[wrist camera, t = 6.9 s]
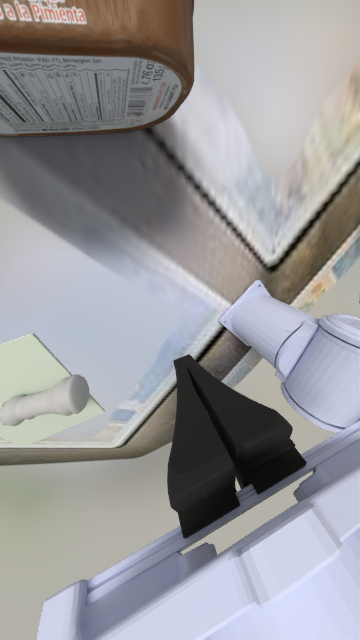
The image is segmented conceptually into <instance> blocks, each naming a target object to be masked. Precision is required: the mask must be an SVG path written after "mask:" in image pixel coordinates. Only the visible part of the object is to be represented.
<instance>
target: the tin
mask: <svg viewBox="0 0 360 640" xmlns="http://www.w3.org/2000/svg"><path fill="white" fill-rule="evenodd" d="M193 11H194V0H0V136H2V137H15V136H49V135H77V134H98V133H116V132H127V131H134V130H140V129H144V128H148V127H151V126H154V125H156V124H159V123H161V122H163V121H165V120H167V119H168V118H170V117H171V116H172V115H173V114H174V113H175V112H176V111H177V109H178V108H179V106H180V105H181V104H182V103H183V102H184V101H185V99H186V98H187V96H188V95H189V93H190V91H191V89H192V86H193V83H194V45H193V44H194V43H193Z"/></svg>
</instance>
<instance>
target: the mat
mask: <svg viewBox="0 0 360 640" xmlns="http://www.w3.org/2000/svg"><path fill="white" fill-rule="evenodd" d="M71 376H72V374H71V373H70V372H69V371H68V370H67V369H66V368H65V367H64V366H63V365H62V364H61V362H60V361H59V360H58V359H57V358H56V357H55V356H54V355H53V354H52V353H51V352H50V350H49V349H47V347H46V346H45V345H44V344H43V343H42V342H41V341H40V340H39V338H38V337H37V336H36V335H35V334H34V333H32V334H29V335H26V336H23V337H20V338H17V339H14V340H11V341H8V342H5V343H2V344H0V408H3V406H2V405H1V404H3V403H4V402H6V401H8V400H9V399H10V398H12V397H13V396H15V395H23V396H27V395H28V394H30V393H35V394H37V393H40V392H43V391H45V390H48V389H50V388H52V387H53V386H54V385H55V384H58V382H60V381H61V380H62V379H64V378H66V377H71ZM103 412H104V409H103V408H102V407H101V406H100V405H99V404H98V403H97V402H96V400H95V399H94V398H93V397H92V396H91V395H90V394H89V399H88V403H87V405H86V407H85V408H84V409H83V410H82V411H81V412H80V413H78V414H74V413H73V414H71V415H70V416H63V415H60V414H59V415H58V414H54V413H50V414H43V415H38V416H36V417H35V418H33V419H31V420H26V419H25V420H24V421H23V422H22V423H21V424H19V425H17V426H9V425H2V423H3V422H0V437H2V438H4V439H6V440H8V441H10V442H12V443H14V444H16V445H18V446H20V447H22V448H23V447H25V446H27V445H29V444H32V443H34V442H36V441H39V440H41V439H43V438H46V437H48V436H50V435H52V434H55V433H57V432H59V431H62V430H64V429H66V428H69V427H71V426H73V425H75V424H78V423H80V422H82V421H85V420H87V419H89V418H91V417H94V416H96V415H99V414H101V413H103ZM0 417H1V413H0Z"/></svg>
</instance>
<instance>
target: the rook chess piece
mask: <svg viewBox="0 0 360 640" xmlns="http://www.w3.org/2000/svg"><path fill="white" fill-rule="evenodd" d="M88 399H89V387H88V384H87V381H86V380H85V378H84V377H81V376H80V375H77V374H76V375H72V376H71V377H66V378H64V379H62V380H61V381H60V382H58V384H55V385H54V386H53V387H52V388H50V389H48V390H45V391H43V392H40V393H37V394H35V393H30V394H28V395H27V396H23V395H15V396H13V397H12V398H10V399H9V400H8V401H6V402H4V403H3V404H1V405H2V406H3V408H0V413H1V417H0V422H3V423H2V425H9V426H17V425H19V424H21V423H22V422H23V421H24V420H25V419H26V420H31V419H33V418H35V417H36V416H38V415H43V414H50V413H54V414H58V415H59V414H60V415H63V416H70V415H71V414H73V413H74V414H78V413H80V412H81V411H82V410H83V409H84V408H85V407H86V405H87V403H88Z"/></svg>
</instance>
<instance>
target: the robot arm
mask: <svg viewBox="0 0 360 640" xmlns="http://www.w3.org/2000/svg"><path fill="white" fill-rule="evenodd" d="M224 321H225V322H224ZM219 322H220V323H221V324H222V325H223V326H225V327H226V328H227V329H228V330H229V331H230V332H232V333H233V334H234V335H235V336H236V337H238V338H239V339H240V340H241V341H242V342H243V343H245V344H246V345H247V346H251V347H252V348H253V349H255V350H256V351H257V352H258V353H259V354H260V355H261V356H262V357H264V358H265V359H266V360H267V361H268V362H269V363H270V364H272V365H273V366H274V367H275V368H276V373H275V375H276V376H277V377H278V378H279V379H280V380H281V381H282V383H281V390H282V393H283V395H284V397H285V398H286V400H287V401H288V403H289V404H290V405H291V406H292V407H293V408H294V410H295V411H297V412H298V413H299V414H300V415H301V416H302V417H304V418H305V419H306V420H308V421H310V422H311V423H313V424H315V425H317V426H319V427H321V428H323V429H326V430H328V431H331V432H334V433H337V434H335V435H333V436H332V437H330V438H328V439H327V440H325V441H323V442H321V443H320V444H318V445H316V446H315V447H313V448H311V449H310V450H308V451H306V452H304V453H303V454H300V453H299V452H298V451H297V449H296V448H295V444H294V443H293V441H292V440H291V439H290V436H291V434H292V426H291V425H290V424H289V423H288V421H287V420H286V419H284V417H282V416H281V415H280V414H279V413H278V412H277V411H276V410H274V409H271V408H268V407H266V406H264V405H262V404H260V403H258V402H255V401H253V400H251V399H249V398H247V397H246V396H244V395H242V394H240V393H238V392H236V391H235V390H233V389H231V388H230V387H228V386H227V385H225V384H224V383H222V382H221V381H219V380H218V379H216V378H215V377H214V376H212V375H211V374H210V373H209V372H207V371H206V370H205V369H204V368H203V367H202V366H201V365H199V364H198V363H197V362H196V361H195V360H194V359H193V357H192V356H191V355H189V354H188V355H186V356H184V357H181V358H179V359H176V360H174V365H175V370H176V377H177V411H176V421H175V429H174V436H173V442H172V448H171V453H170V457H169V462H168V478H167V481H168V482H167V484H168V495H169V500H170V505H171V508H173V509H174V510H175V511H176V512H178V516H179V520H180V525H181V526H179V527H177V528H176V529H174V530H172V531H170V532H169V533H167V534H165V535H164V536H162V537H160V538H159V539H157V540H155V541H154V542H152V543H150V544H148V545H147V546H145V547H143V548H142V549H140V550H138V551H137V552H135V553H133V554H132V555H130V556H128V557H126V558H125V559H123V560H121V561H120V562H118V563H116V564H114V565H113V566H111V567H109V568H108V569H106V570H105V571H103V572H101V573H99V574H98V575H96V576H94V577H92V578H91V579H89V580H80V581H78V582H75V583H73V584H71V585H69V586H68V587H66V588H64V589H63V590H61V591H59V592H57V593H56V594H54V595H52V596H50V597H49V598H47V599H46V600H45V602H44V605H43V609H42V614H41V619H40V624H39V629H38V634H37V639H36V640H360V317H356V316H352V315H347V314H340V313H334V314H330V315H325V316H322V317H321V319H319V318H316V317H314V316H312V315H309V314H307V313H305V312H303V311H301V310H299V309H296V308H294V307H292V306H290V305H287V304H285V303H283V302H281V301H279V300H276V299H274V298H272V297H271V296H270V294H269V293H268V291H267V290H266V288H265V287H264V286H263V284H262V283H261V281H260V280H256V281H255V282H254V283H253V284H252V285H251V286H250V287H249V288H248V289H247V290H246V291H245V292H244V293H243V294H242V295H241V297H240V298H239V299H238V300H237V301H236V302H235V303H234V304H233V305H232V306H231V307H230V308H229V309H228V310H227V311H226V313H225V314H224V315H223V316H222V317H221V318H220V319H219ZM203 406H204V407H203ZM204 408H205V409H204ZM205 410H206V411H205ZM206 412H207V413H206ZM207 414H208V415H207ZM208 416H209V417H208ZM209 418H210V419H209ZM311 471H313V474H312V475H311V476H309V477H308V478H307V479H306V480H304V481H303V482H302V483H300V484H299V487H298V488H297V490H295V491H294V496H295V497H296V499H297V500H298V503H297V504H296V505H294V506H292V507H290V508H289V509H287V510H286V511H284V512H282V513H281V514H279V515H278V516H276V517H275V518H273V519H271V520H270V521H268V522H267V523H265V524H264V525H262V526H261V527H259V528H258V529H256V530H254V531H253V532H251V533H250V534H248V535H247V536H245V537H244V538H243V539H241V540H239V541H238V542H236V543H235V544H233V545H232V546H230V547H229V548H228V549H226V550H225V551H223V552H222V553H220V554H219V555H217V553H216V549H215V546H214V545H213V544H208V543H207V542H206V543H204V544H202V545H200V546H198V547H196V548H195V549H193V550H191V551H189V552H187V553H186V554H184V555H183V554H182V553H180V552H181V551H183V550H184V549H186V548H188V547H189V546H191V545H192V544H194V543H196V542H197V541H199V540H201V539H202V538H204V537H206V536H207V535H209V534H210V533H212V532H214V531H215V530H217V529H218V528H220V527H222V526H223V525H225V524H227V523H228V522H230V521H231V520H233V519H235V518H236V517H238V516H240V515H241V514H243V513H244V512H246V511H248V510H249V509H251V508H253V507H254V506H256V505H257V504H259V503H261V502H262V501H264V500H266V499H267V498H269V497H270V496H272V495H274V494H275V493H277V492H278V491H280V490H282V489H283V488H285V487H286V486H288V485H290V484H291V483H293V482H295V481H296V480H298V479H300V478H301V477H303V476H304V475H306V474H308V473H309V472H311ZM235 476H236V478H237V481H238V483H239V485H240V488H241V490H240V491H239V492H237V491H236V488H235ZM236 492H237V493H236Z"/></svg>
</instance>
